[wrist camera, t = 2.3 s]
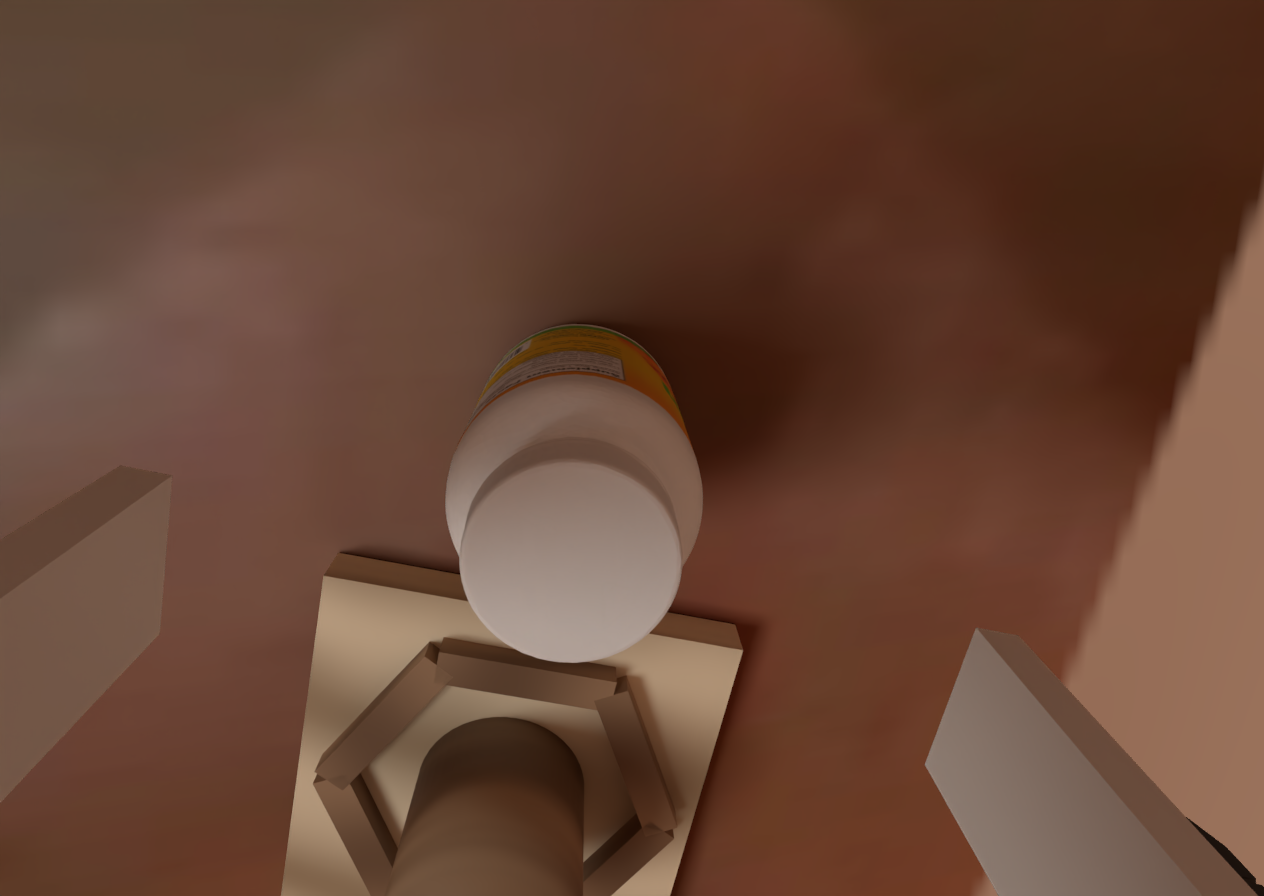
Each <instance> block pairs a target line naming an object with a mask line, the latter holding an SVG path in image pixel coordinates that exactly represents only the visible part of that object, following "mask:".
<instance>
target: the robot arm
mask: <svg viewBox="0 0 1264 896" xmlns="http://www.w3.org/2000/svg"><path fill="white" fill-rule="evenodd" d="M171 487H172V475H168V474H162V473H157V472H152V471H147V470H141V469H136V468H131V467H126V466H119V467H117V468H116V469H114V470H113V471H111V472H109V473H108V474H106V475H104V476H103V477H101V478H100V479H98V480H96V481H95V482H93V483H91V484H90V485H88V486H87V487H85V488H83V489H82V490H80V491H78V492H77V493H75V494H74V495H72V496H70V497H69V498H67V499H65V500H64V501H62V502H61V503H59V504H57V505H56V506H54V507H53V508H51V509H49V510H48V511H46V512H44V513H43V514H41V515H40V516H38V517H36V518H35V519H33V520H31V521H30V522H28V523H27V524H25V525H23V526H22V527H20V528H18V529H17V530H15V531H14V532H12V533H10V534H9V535H7V536H5V537H4V538H2V539H1V540H0V802H1V801H2V800H3V799H4V798H5V797H6V796H7V795H8V794H9V793H10V792H11V791H12V790H13V789H14V788H15V787H16V785H17V784H18V783H19V782H20V781H21V780H22V779H23V778H24V777H25V776H26V775H27V774H28V773H29V772H30V771H31V770H32V769H33V767H34V766H35V765H36V764H37V763H38V762H39V761H40V760H41V759H42V758H43V757H44V756H45V755H46V754H47V753H48V752H49V751H50V749H51V748H52V747H53V746H54V745H55V744H56V743H57V742H58V741H59V740H60V739H61V738H62V737H63V736H64V735H65V734H66V732H67V731H68V730H69V729H70V728H71V727H72V726H73V725H74V724H75V723H76V722H77V721H78V720H79V719H80V718H81V717H82V716H83V714H84V713H85V712H86V711H87V710H88V709H89V708H90V707H91V706H92V705H93V704H94V703H95V702H96V701H97V700H98V699H99V697H100V696H101V695H102V694H103V693H104V692H105V691H106V690H107V689H108V688H109V687H110V686H111V685H112V684H113V683H114V682H115V681H116V679H117V678H118V677H119V676H120V675H121V674H122V673H123V672H124V671H125V670H126V669H127V668H128V667H129V666H130V665H131V664H132V663H133V661H134V660H135V659H136V658H137V657H138V656H139V655H140V654H141V653H142V652H143V651H144V650H145V649H146V648H147V647H148V646H149V644H150V643H151V642H152V641H153V640H154V639H155V638H156V637H157V636H158V635H159V634H160V624H161V611H162V599H163V587H164V574H165V562H166V549H167V537H168V525H169V512H170V500H171ZM925 766H926V768H927V769H928V771H929V773H930V775H931V776H932V778H933V780H934V782H935V784H936V785H937V787H938V789H939V791H940V792H941V794H942V796H943V798H944V800H945V801H946V803H947V805H948V807H949V808H950V810H951V812H952V814H953V816H954V817H955V819H956V821H957V823H958V825H959V826H960V828H961V830H962V832H963V833H964V835H965V837H966V839H967V841H968V842H969V844H970V846H971V848H972V849H973V851H974V853H975V855H976V857H977V858H978V860H979V862H980V864H981V865H982V867H983V869H984V871H985V873H986V874H987V876H988V878H989V880H990V881H991V883H992V885H993V887H994V889H995V890H996V892H997V894H998V896H1264V887H1263V886H1262V885H1258V884H1256V878H1255V877H1254V876H1253V875H1252V874H1251V873H1250V872H1249V871H1248V870H1247V869H1246V868H1245V867H1244V866H1243V864H1242V863H1241V862H1240V861H1239V860H1238V859H1237V858H1236V857H1235V856H1234V855H1233V854H1232V853H1231V852H1230V851H1229V850H1228V848H1226V847H1225V846H1224V845H1223V844H1221V843H1220V842H1219V841H1217V840H1216V839H1215V838H1214V837H1212V836H1211V835H1209V834H1208V833H1207V832H1205V831H1204V830H1203V829H1201V828H1200V827H1199V826H1198V825H1196V824H1195V823H1194V822H1192V821H1191V820H1190V819H1188V818H1187V817H1185V816H1184V815H1183V814H1182V813H1181V812H1180V811H1179V809H1178V808H1177V807H1176V806H1175V805H1174V804H1173V803H1172V802H1171V801H1170V800H1169V799H1168V797H1167V796H1166V795H1165V794H1164V793H1163V792H1162V791H1161V790H1160V789H1159V788H1158V787H1157V786H1156V784H1155V783H1154V782H1153V781H1152V780H1151V779H1150V778H1149V777H1148V776H1147V775H1146V774H1145V772H1143V770H1142V769H1141V768H1140V767H1139V766H1138V765H1137V764H1136V763H1135V762H1134V761H1133V759H1132V758H1131V757H1130V756H1129V755H1128V754H1127V753H1126V752H1125V751H1124V750H1123V749H1122V748H1121V746H1120V745H1119V744H1118V743H1117V742H1116V741H1115V740H1114V739H1113V738H1112V737H1111V736H1110V734H1109V733H1108V732H1107V731H1106V730H1105V729H1104V728H1103V727H1102V726H1101V725H1100V724H1099V723H1098V721H1097V720H1096V719H1095V718H1094V717H1093V716H1092V715H1091V714H1090V713H1089V712H1088V711H1087V709H1086V708H1085V707H1084V706H1083V705H1082V704H1081V703H1080V702H1079V701H1078V700H1077V699H1076V698H1075V697H1074V695H1072V693H1071V692H1070V691H1069V690H1068V689H1067V688H1066V687H1065V686H1064V685H1063V683H1062V682H1061V681H1060V680H1059V679H1058V678H1057V677H1056V676H1055V675H1054V674H1053V673H1052V672H1051V670H1050V669H1049V668H1048V667H1047V666H1046V665H1045V664H1044V663H1043V662H1042V661H1041V660H1040V658H1039V657H1038V656H1037V655H1036V654H1035V653H1034V652H1033V651H1032V650H1031V649H1030V648H1029V647H1028V645H1027V644H1026V643H1025V642H1024V641H1023V640H1022V639H1021V638H1020V637H1019V636H1018V635H1012V634H1007V633H1002V632H997V631H991V630H986V629H981V628H976V629H975V632H974V635H973V637H972V640H971V643H970V645H969V648H968V651H967V653H966V656H965V659H964V661H963V664H962V667H961V669H960V672H959V675H958V677H957V680H956V683H955V685H954V688H953V691H952V693H951V696H950V699H949V701H948V704H947V707H946V710H945V712H944V715H943V718H942V720H941V723H940V726H939V728H938V731H937V734H936V736H935V739H934V742H933V744H932V747H931V750H930V752H929V755H928V758H927V760H926V763H925Z"/></svg>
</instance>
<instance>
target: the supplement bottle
mask: <svg viewBox="0 0 1264 896" xmlns="http://www.w3.org/2000/svg"><path fill="white" fill-rule="evenodd" d="M445 506H446V517H447V523H448V527H449V531H450V535H451V538H452V541H453V544H454V546H455V549H456V551H457V553H458V555H459V565H460V575H461V581H462V584H463V588H464V591H465V594H466V597H467V599H468V601H469V603H470V605H471V607H472V609H473V611H474V612H475V613H476V615H477V616H478V618H479V619H480V620H481V622H482V623H483V624H484V625H485V626H486V628H487V629H488V630H489V631H491V632H492V633H493V634H494V635H495V636H496V637H497V638H498V639H500V640H501V641H502V642H504V643H505V644H507V645H509V646H511V647H512V648H514V649H516V650H518V651H520V652H522V653H524V654H527V655H530V656H533V657H536V658H539V659H543V660H548V661H554V662H568V663H579V662H588V661H594V660H599V659H603V658H607V657H610V656H612V655H615V654H617V653H619V652H622V651H624V650H626V649H628V648H629V647H631V646H633V645H634V644H636V643H637V642H639V641H640V640H642V639H643V638H644V637H645V636H646V635H647V634H649V633H650V632H651V631H652V630H653V629H654V628H655V627H656V626H657V625H658V624H659V622H660V621H661V620H662V618H663V617H664V616H665V614H666V613H667V611H668V609H669V608H670V606H671V604H672V602H673V600H674V598H675V596H676V593H677V590H678V587H679V583H680V579H681V573H682V566H683V565H684V563H685V562H686V560H687V558H688V557H689V555H690V553H691V551H692V549H693V547H694V544H695V541H696V538H697V536H698V532H699V528H700V523H701V518H702V509H703V489H702V481H701V476H700V471H699V467H698V463H697V460H696V456H695V453H694V451H693V448H692V445H691V442H690V439H689V436H688V433H687V431H686V428H685V424H684V421H683V418H682V416H681V413H680V410H679V408H678V405H677V402H676V399H675V396H674V394H673V391H672V388H671V386H670V384H669V382H668V380H667V378H666V376H665V374H664V372H663V371H662V369H661V368H660V366H659V365H658V363H657V362H656V361H655V359H654V358H653V357H652V356H651V355H650V354H649V353H648V352H647V351H646V350H645V349H644V348H643V347H642V346H640V345H639V344H638V343H637V342H635V341H634V340H632V339H630V338H629V337H627V336H625V335H623V334H621V333H619V332H616V331H614V330H611V329H608V328H604V327H600V326H595V325H586V324H567V325H560V326H555V327H551V328H547V329H545V330H542V331H540V332H538V333H535V334H533V335H531V336H529V337H528V338H526V339H524V340H523V341H521V342H520V343H519V344H517V345H516V346H515V347H514V348H512V349H511V350H510V351H509V352H508V353H507V354H506V355H505V356H504V357H503V359H502V360H501V361H500V362H499V364H498V365H497V366H496V368H495V369H494V371H493V372H492V374H491V376H490V377H489V379H488V381H487V383H486V385H485V387H484V389H483V392H482V394H481V396H480V398H479V400H478V402H477V405H476V407H475V409H474V411H473V414H472V416H471V418H470V420H469V422H468V425H467V427H466V429H465V431H464V433H463V435H462V437H461V439H460V441H459V443H458V445H457V448H456V450H455V453H454V456H453V459H452V462H451V465H450V470H449V474H448V479H447V486H446V499H445Z"/></svg>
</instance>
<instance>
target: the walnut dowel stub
mask: <svg viewBox="0 0 1264 896" xmlns="http://www.w3.org/2000/svg"><path fill="white" fill-rule="evenodd" d="M583 844H584V779H583V773H582V770H581V766H580V764H579V762H578V760H577V758H576V756H575V754H574V753H573V751H572V750H571V749H570V747H569V746H568V745H567V744H566V743H565V742H564V741H563V740H562V739H561V738H559V737H558V736H557V735H556V734H554V733H553V732H551V731H550V730H548V729H546V728H544V727H542V726H540V725H538V724H535V723H532V722H530V721H526V720H522V719H517V718H509V717H491V718H483V719H478V720H474V721H471V722H468V723H465V724H462V725H460V726H458V727H456V728H454V729H452V730H451V731H449V732H448V733H446V734H445V735H444V736H442V737H441V738H440V739H439V740H438V741H437V742H436V743H435V744H434V745H433V746H432V747H431V749H430V750H429V751H428V753H427V755H426V756H425V758H424V760H423V762H422V765H421V767H420V771H419V775H418V778H417V782H416V785H415V789H414V793H413V796H412V800H411V803H410V807H409V811H408V814H407V818H406V821H405V825H404V828H403V832H402V836H401V839H400V843H399V846H398V850H397V854H396V857H395V861H394V864H393V868H392V872H391V875H390V879H389V882H388V886H387V890H386V893H385V896H583Z"/></svg>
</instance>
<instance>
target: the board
mask: <svg viewBox="0 0 1264 896" xmlns="http://www.w3.org/2000/svg"><path fill="white" fill-rule="evenodd" d="M742 653H743V648H742V645H741V642H740V638H739V635H738V632H737V629H736V626H735V624H730V623H724V622H719V621H713V620H708V619H702V618H697V617H691V616H686V615H680V614H675V613H669V612H667V613H666V614H665V616H664V617H663V618H662V620H661V621H660V622H659V624H658V625H657V626H656V627H655V628H654V629H653V630H652V631H651V632H650V633H649V634H647V635H646V636H645V637H644V638H643V639H642V640H640V641H639V642H637V643H636V644H634V645H633V646H631V647H629V648H628V649H626V650H624V651H622V652H619V653H617V654H615V655H612V656H610V657H607V658H603V659H599V660H594V661H588V662H579V663H568V662H554V661H548V660H543V659H539V658H536V657H533V656H530V655H527V654H524V653H522V652H520V651H518V650H516V649H514V648H512V647H511V646H509V645H507V644H505V643H504V642H502V641H501V640H500V639H498V638H497V637H496V636H495V635H494V634H493V633H492V632H491V631H489V630H488V629H487V628H486V626H485V625H484V624H483V623H482V622H481V620H480V619H479V618H478V616H477V615H476V613H475V612H474V611H473V609H472V607H471V605H470V603H469V601H468V599H467V597H466V594H465V591H464V588H463V584H462V581H461V575H459V574H454V573H448V572H443V571H437V570H431V569H426V568H420V567H415V566H409V565H404V564H398V563H393V562H387V561H382V560H376V559H371V558H365V557H360V556H354V555H349V554H343V553H338V554H337V556H336V557H335V559H334V560H333V562H332V563H331V565H330V567H329V568H328V570H327V571H326V573H325V574H324V577H323V584H322V592H321V599H320V607H319V615H318V622H317V630H316V637H315V645H314V652H313V660H312V667H311V675H310V682H309V690H308V697H307V705H306V712H305V720H304V727H303V735H302V742H301V750H300V757H299V765H298V772H297V780H296V787H295V795H294V802H293V810H292V817H291V825H290V832H289V840H288V847H287V855H286V862H285V870H284V878H283V885H282V893H281V896H385V893H386V890H387V886H388V882H389V879H390V875H391V872H392V868H393V864H394V861H395V857H396V854H397V850H398V846H399V843H400V839H401V836H402V832H403V828H404V825H405V821H406V818H407V814H408V811H409V807H410V803H411V800H412V796H413V793H414V789H415V785H416V782H417V778H418V775H419V771H420V767H421V765H422V762H423V760H424V758H425V756H426V755H427V753H428V751H429V750H430V749H431V747H432V746H433V745H434V744H435V743H436V742H437V741H438V740H439V739H440V738H441V737H442V736H444V735H445V734H446V733H448V732H449V731H451V730H452V729H454V728H456V727H458V726H460V725H462V724H465V723H468V722H471V721H474V720H478V719H483V718H491V717H509V718H517V719H522V720H526V721H530V722H532V723H535V724H538V725H540V726H542V727H544V728H546V729H548V730H550V731H551V732H553V733H554V734H556V735H557V736H558V737H559V738H561V739H562V740H563V741H564V742H565V743H566V744H567V745H568V746H569V747H570V749H571V750H572V751H573V753H574V754H575V756H576V758H577V760H578V762H579V764H580V766H581V770H582V773H583V779H584V844H583V896H670V894H671V891H672V888H673V884H674V881H675V878H676V874H677V871H678V867H679V864H680V861H681V857H682V854H683V851H684V847H685V844H686V841H687V837H688V834H689V831H690V827H691V824H692V821H693V817H694V814H695V810H696V807H697V804H698V800H699V797H700V794H701V790H702V787H703V784H704V780H705V777H706V774H707V770H708V767H709V763H710V760H711V757H712V753H713V750H714V747H715V743H716V740H717V737H718V733H719V730H720V727H721V723H722V720H723V717H724V713H725V710H726V706H727V703H728V700H729V696H730V693H731V690H732V686H733V683H734V680H735V676H736V673H737V670H738V666H739V663H740V659H741V656H742Z"/></svg>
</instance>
